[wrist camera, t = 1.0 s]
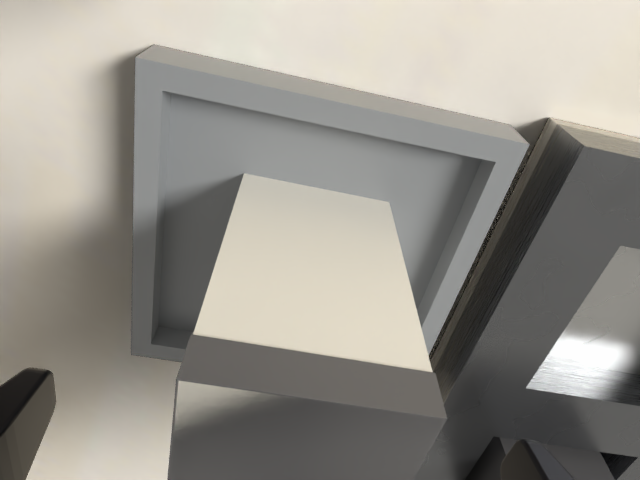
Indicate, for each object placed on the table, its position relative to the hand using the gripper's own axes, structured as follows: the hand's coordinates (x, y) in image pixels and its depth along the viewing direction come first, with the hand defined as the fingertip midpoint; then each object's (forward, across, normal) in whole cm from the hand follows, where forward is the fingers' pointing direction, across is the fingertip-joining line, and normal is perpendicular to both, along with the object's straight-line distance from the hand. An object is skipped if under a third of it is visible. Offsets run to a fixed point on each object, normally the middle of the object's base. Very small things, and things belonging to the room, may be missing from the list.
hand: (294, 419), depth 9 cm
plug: (+6, 0, 0) cm, 6 cm away
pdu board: (+6, -10, +4) cm, 13 cm away
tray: (+6, 0, 0) cm, 6 cm away
